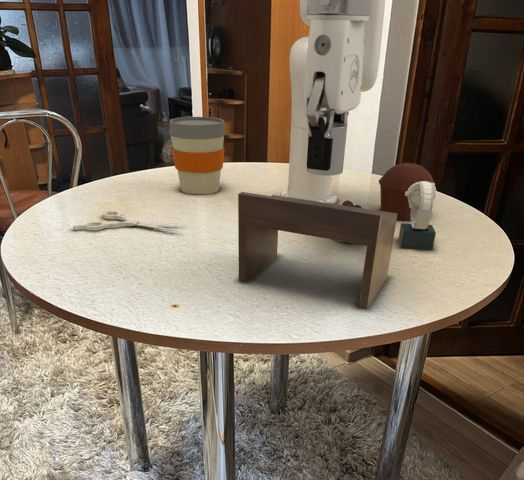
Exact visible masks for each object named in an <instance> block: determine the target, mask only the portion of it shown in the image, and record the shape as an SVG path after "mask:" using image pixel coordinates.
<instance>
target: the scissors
mask: <svg viewBox="0 0 524 480" xmlns="http://www.w3.org/2000/svg"><path fill="white" fill-rule="evenodd" d="M102 217H103V218H104V219H106V220H119V222H103V221H99V220H98V221H90V222H86V223H84V224H76V225H75V224H74V225H73V226H72V228H73V230H74V231H75V230H76V231H77V230H86V231H87V230H88V231H100V230H105V229H108V228H119V227H134V226H137V227H145V228H149V229H150V228H151V229H156V230H163V231H170V232H176V230H175V229H171V228H166V227H161V226H159V225H162V226H164V225H165V226H166V225H168V226H173V225H177V226H178V225H180V223H172V222H171V223H169V222H154V221H153V222H152V221H151V222H150V221H140V220H137V219H132V218H127V217H126V216H125V215H121V213H120V212H119V211H116V210H115V211H114V210H109V211H108V210H107V211H104V212H103V213H102ZM157 225H158V226H157ZM177 232H178V233H179V232H180V231H179V230H177Z"/></svg>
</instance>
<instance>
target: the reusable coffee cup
mask: <svg viewBox="0 0 524 480" xmlns="http://www.w3.org/2000/svg"><path fill="white" fill-rule="evenodd" d="M225 127H226V126H225V120H224V119H221V118H217V117H212V116H211V117H210V116H183V117H182V116H181V117H175V118H171V119H170V120H169V134H168V135H169V136H170V138H171V142H172V147H171V152H172V159H173V164H174V169H175V170H177V175H178V182H179V186H180V190H181V192H183V193H185V194H188V195H189V194H190V195H210V194H214V193H217V192H219V190H220V182H221V173H222V172H221V171H222V169H223V168H224V159H225V149H226V148H225V146H224V141H225V136H226V128H225Z"/></svg>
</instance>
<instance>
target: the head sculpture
mask: <svg viewBox="0 0 524 480" xmlns="http://www.w3.org/2000/svg"><path fill="white" fill-rule="evenodd" d="M434 183H435V182H434ZM434 183H430V182H426V181H421V182H417V183H415V184H413V185H411V186H410V187H409V189H408V191H406V192H405V196H408V201H409V208H411V211H412V212H411V220H410V223H407V222H403V223H402V222H401V223H400V227H399V234H398V238H397V241H398V244H399V246H400V247H399V248H400V249H413V250H426V251H427V250H428V251H429V250H430V251H433V248H434V244H435V239H436V234H437V232H436V230H435V228H434V226H433V224H430V223H431V220H432V215H433V207H434V201H435V199H436V196H437V188H436V183H435V184H434ZM416 213H417V214H416Z"/></svg>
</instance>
